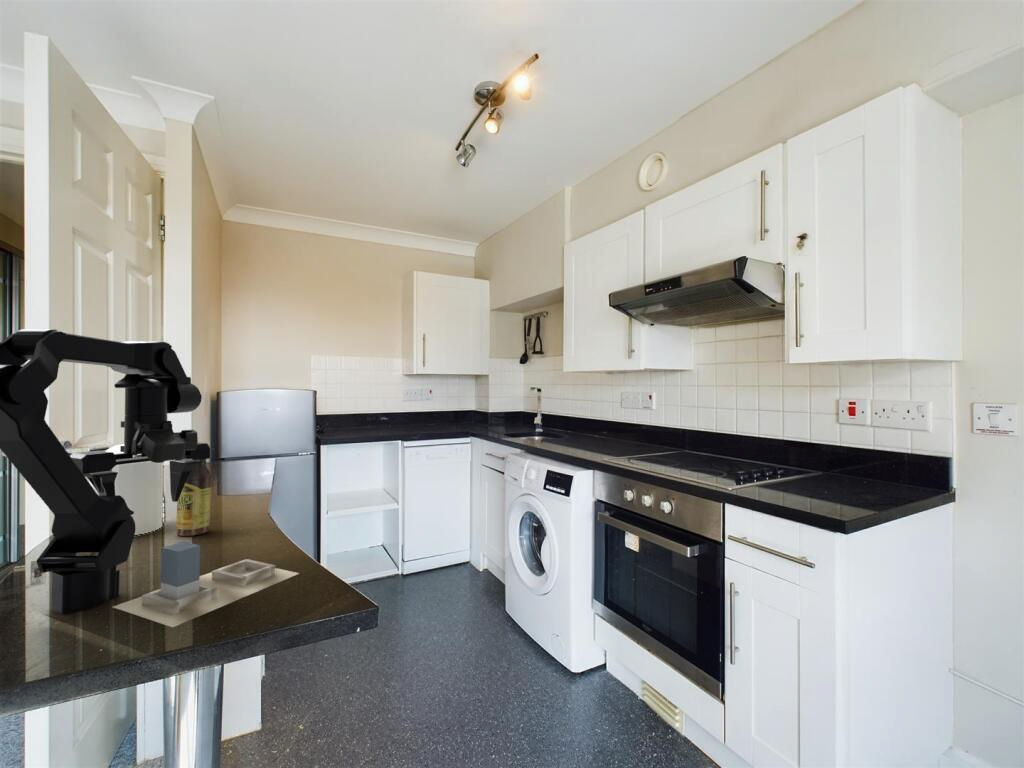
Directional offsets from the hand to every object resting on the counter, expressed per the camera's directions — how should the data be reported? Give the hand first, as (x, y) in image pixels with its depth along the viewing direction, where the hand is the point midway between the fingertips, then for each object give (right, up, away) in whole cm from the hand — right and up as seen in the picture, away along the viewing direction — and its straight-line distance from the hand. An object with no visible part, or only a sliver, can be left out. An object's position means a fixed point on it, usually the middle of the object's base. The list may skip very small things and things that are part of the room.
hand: (145, 507), depth 79 cm
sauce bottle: (-9, -13, +26) cm, 30 cm away
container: (-26, -13, +28) cm, 40 cm away
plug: (+14, -11, -11) cm, 21 cm away
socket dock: (+16, -12, -6) cm, 21 cm away
